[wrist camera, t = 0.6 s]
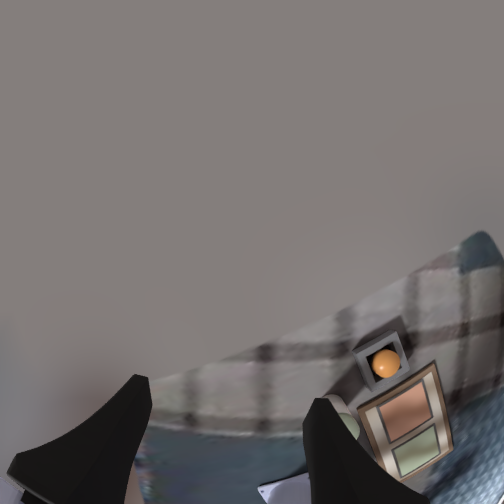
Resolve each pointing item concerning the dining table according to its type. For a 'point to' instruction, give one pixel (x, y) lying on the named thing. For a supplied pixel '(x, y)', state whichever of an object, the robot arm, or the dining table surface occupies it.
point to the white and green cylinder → (344, 414)
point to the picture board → (408, 425)
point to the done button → (385, 363)
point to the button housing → (373, 346)
